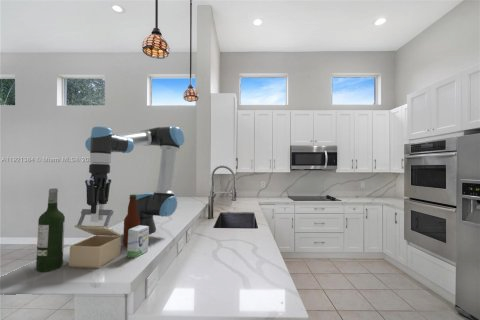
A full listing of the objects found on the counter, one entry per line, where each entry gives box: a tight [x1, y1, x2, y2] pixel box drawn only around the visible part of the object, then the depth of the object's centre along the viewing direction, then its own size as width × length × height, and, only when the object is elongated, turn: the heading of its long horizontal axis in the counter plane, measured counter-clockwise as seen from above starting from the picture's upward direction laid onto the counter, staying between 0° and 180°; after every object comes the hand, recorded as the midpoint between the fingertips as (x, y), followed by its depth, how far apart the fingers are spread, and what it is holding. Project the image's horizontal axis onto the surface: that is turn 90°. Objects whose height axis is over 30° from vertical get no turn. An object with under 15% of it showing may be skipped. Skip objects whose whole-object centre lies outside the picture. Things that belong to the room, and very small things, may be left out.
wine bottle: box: [35, 188, 66, 272], centre depth 89 cm, size 8×8×30 cm
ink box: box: [126, 225, 150, 259], centre depth 104 cm, size 9×5×12 cm, turn 168°
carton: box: [68, 235, 122, 269], centre depth 96 cm, size 14×12×8 cm
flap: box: [74, 208, 122, 237], centre depth 99 cm, size 14×12×8 cm
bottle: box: [122, 194, 140, 248], centre depth 116 cm, size 7×7×25 cm
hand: (96, 220), depth 96 cm, fingers open, 2 cm apart
